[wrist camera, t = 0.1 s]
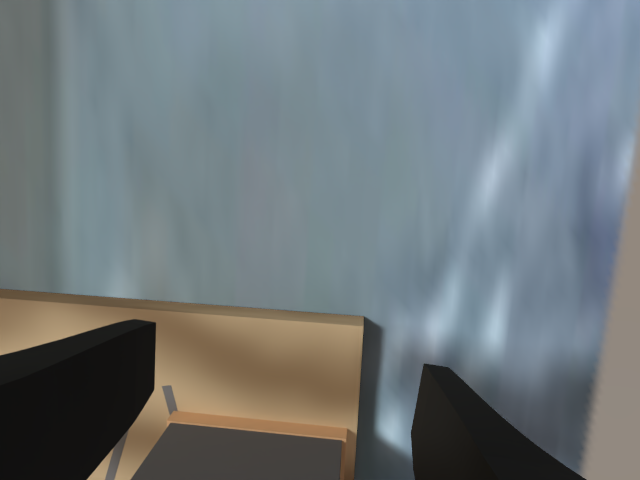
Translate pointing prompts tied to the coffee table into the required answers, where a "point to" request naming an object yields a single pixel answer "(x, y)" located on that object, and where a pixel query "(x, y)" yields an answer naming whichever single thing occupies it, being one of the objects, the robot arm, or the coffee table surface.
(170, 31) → the coffee table surface
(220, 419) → the block
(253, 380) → the oak board
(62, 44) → the coffee table surface
